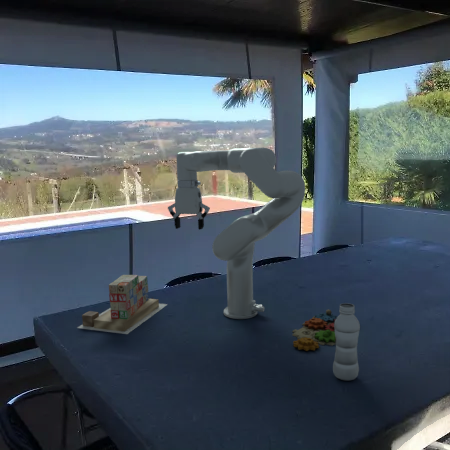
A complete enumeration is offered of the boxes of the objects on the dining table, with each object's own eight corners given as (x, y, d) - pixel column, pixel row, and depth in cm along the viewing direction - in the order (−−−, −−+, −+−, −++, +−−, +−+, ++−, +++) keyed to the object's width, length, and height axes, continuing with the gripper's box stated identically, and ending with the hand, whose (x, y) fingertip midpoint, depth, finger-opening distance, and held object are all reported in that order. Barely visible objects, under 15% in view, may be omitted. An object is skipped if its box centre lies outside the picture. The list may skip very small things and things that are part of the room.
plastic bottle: (329, 372, 123) (330, 302, 120) (353, 370, 124) (355, 300, 120) (337, 384, 117) (338, 310, 114) (362, 382, 117) (364, 309, 114)
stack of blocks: (133, 298, 178) (132, 267, 176) (149, 298, 177) (147, 268, 175) (110, 318, 157) (108, 284, 155) (127, 319, 156) (125, 284, 154)
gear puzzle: (321, 359, 132) (321, 346, 132) (273, 346, 142) (273, 333, 141) (360, 325, 157) (361, 313, 156) (317, 315, 166) (317, 305, 166)
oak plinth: (158, 306, 176) (158, 299, 176) (124, 331, 153) (123, 323, 153) (131, 304, 180) (131, 296, 180) (94, 327, 157) (93, 319, 156)
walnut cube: (99, 322, 161) (98, 312, 161) (92, 327, 158) (91, 316, 157) (89, 321, 163) (89, 311, 162) (82, 325, 159) (82, 315, 158)
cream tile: (167, 306, 179) (167, 304, 179) (127, 336, 151) (127, 334, 151) (123, 301, 186) (123, 300, 185) (77, 329, 158) (76, 327, 158)
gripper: (212, 183, 175) (213, 227, 178) (171, 183, 180) (173, 226, 183) (204, 185, 168) (206, 231, 171) (162, 185, 173) (164, 229, 176)
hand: (189, 228), depth 177 cm, fingers open, 9 cm apart
